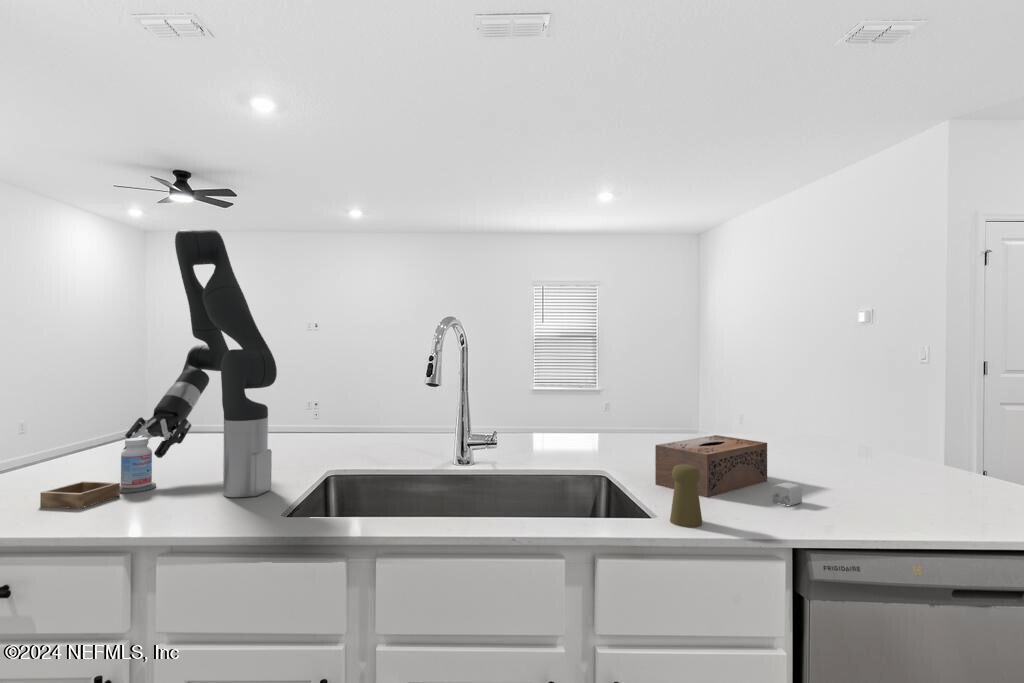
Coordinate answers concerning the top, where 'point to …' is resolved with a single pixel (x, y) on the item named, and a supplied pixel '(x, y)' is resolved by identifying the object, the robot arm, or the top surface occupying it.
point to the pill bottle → (136, 463)
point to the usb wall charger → (787, 494)
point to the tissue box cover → (714, 463)
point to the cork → (686, 497)
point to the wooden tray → (79, 494)
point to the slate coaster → (127, 490)
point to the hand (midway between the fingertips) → (141, 455)
